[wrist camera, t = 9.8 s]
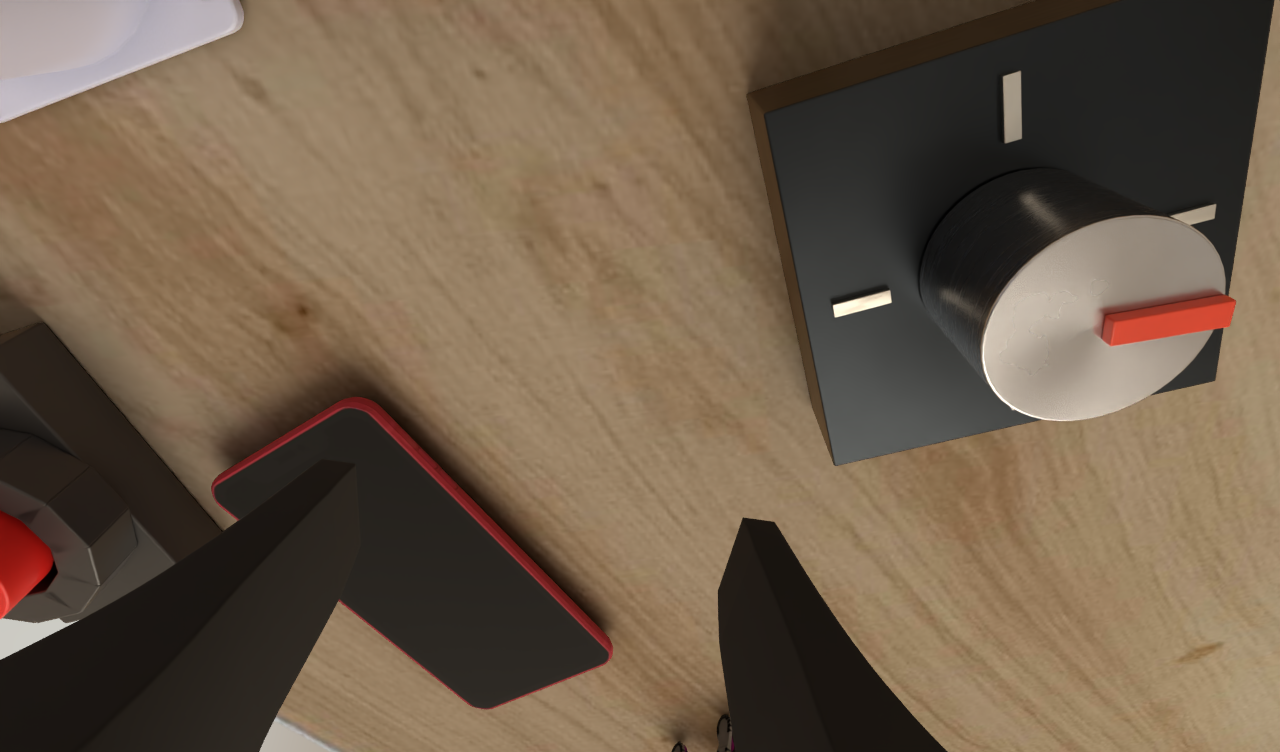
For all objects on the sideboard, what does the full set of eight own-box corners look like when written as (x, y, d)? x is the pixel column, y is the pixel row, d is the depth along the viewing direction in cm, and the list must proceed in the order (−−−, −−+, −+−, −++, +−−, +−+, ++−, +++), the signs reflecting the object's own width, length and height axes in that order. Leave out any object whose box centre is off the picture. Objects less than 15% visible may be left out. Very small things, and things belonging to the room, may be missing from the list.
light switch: (-113, 371, 21) (-260, 445, 18) (50, 318, 20) (-73, 386, 17) (102, 579, 26) (18, 669, 23) (242, 546, 25) (177, 634, 22)
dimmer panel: (745, 94, 17) (764, 114, 14) (1176, -46, 15) (1290, -52, 12) (812, 409, 22) (835, 470, 19) (1142, 330, 20) (1220, 384, 17)
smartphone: (479, 715, 29) (197, 490, 22) (484, 696, 30) (212, 473, 23) (621, 659, 27) (355, 394, 20) (622, 640, 27) (366, 378, 21)
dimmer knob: (919, 357, 17) (982, 446, 14) (918, 190, 15) (994, 249, 12) (1099, 326, 16) (1210, 410, 13) (1127, 148, 14) (1268, 196, 11)
